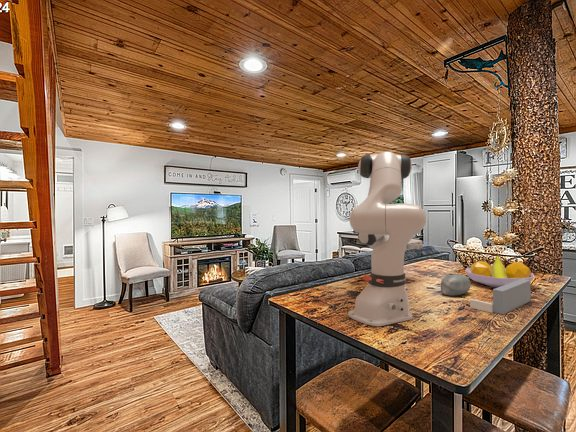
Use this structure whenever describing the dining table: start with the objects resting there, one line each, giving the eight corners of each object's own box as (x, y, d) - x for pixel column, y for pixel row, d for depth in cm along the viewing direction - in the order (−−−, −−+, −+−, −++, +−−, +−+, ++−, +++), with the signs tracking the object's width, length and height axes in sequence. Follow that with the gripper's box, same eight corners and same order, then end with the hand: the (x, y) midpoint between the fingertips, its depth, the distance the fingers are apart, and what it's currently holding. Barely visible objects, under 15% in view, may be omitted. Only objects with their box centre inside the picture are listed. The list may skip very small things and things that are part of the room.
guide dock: (501, 315, 98) (501, 291, 98) (470, 307, 106) (469, 285, 106) (531, 300, 112) (531, 279, 112) (502, 294, 121) (501, 275, 120)
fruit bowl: (525, 296, 118) (525, 268, 117) (455, 283, 139) (454, 260, 139) (544, 284, 134) (544, 259, 134) (478, 274, 156) (478, 253, 156)
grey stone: (453, 280, 132) (458, 264, 127) (472, 294, 125) (479, 277, 120) (432, 291, 127) (437, 275, 122) (451, 306, 120) (457, 289, 115)
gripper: (381, 240, 143) (406, 242, 131) (407, 236, 154) (432, 238, 142) (381, 252, 143) (406, 256, 131) (407, 248, 154) (432, 251, 142)
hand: (420, 247), depth 137 cm, fingers closed
